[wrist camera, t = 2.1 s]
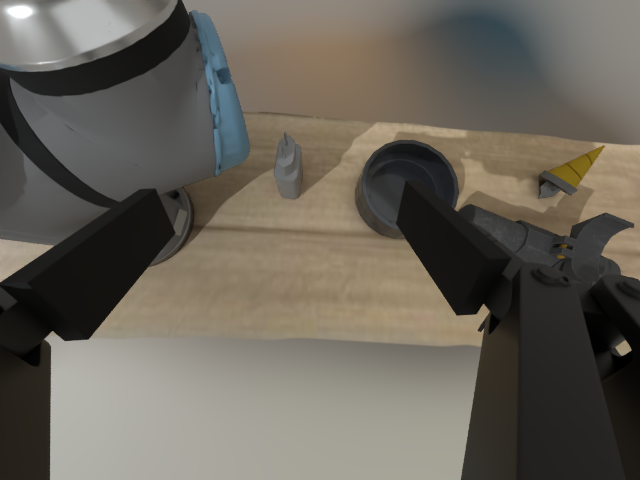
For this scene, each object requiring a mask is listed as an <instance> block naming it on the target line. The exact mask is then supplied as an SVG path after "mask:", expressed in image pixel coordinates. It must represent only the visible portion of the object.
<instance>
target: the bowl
mask: <svg viewBox="0 0 640 480" xmlns="http://www.w3.org/2000/svg"><path fill="white" fill-rule="evenodd" d="M405 180H420V181H421V182H422V183H423V184H425V185H426V186H427V187H428V188H429V189H431V190H432V191H433V192H434V193H435V194H436V195H438V196H439V197H440V198H441V199H442V200H444V201H445V202H446V203H447V204H448V205H450V206H451V207H452V208H453V209H455V207H456V204H457V199H458V194H459V189H458V181H457V176H456V174H455V172H454V170H453V168H452V166H451V164H450V163H449V161H448V160H447V159H446V158H445V157H444V156H443V155H442V153H440V152H439V151H437V150H436V149H434V148H433V147H431V146H430V145H428V144H424V143H421V142H418V141H415V140H398V141H395V142H391V143H388V144H385V145H384V146H382V147H381V148H379V149H378V150H376V151H375V152H374V153H373V154H372V156H371V157H370V158H369V160H368V161H367V162H366V164H365V166H364V168H363V170H362V172H361V174H360V176H359V179H358V182H357V185H356V189H355V200H356V205H357V208H358V211H359V213H360V216H361V217H362V218H363V220H364V221H365V222H366V223H367V225H368V226H369V227H370V228H372V229H373V230H375V231H376V232H378V233H379V234H381V235H384V236H387V237H390V238H393V239H406V238H405V237H404V235H403V234H402V232H401V231H400V229H399V228H398V226H397V225H396V221H397V217H398V212H399V207H400V203H401V198H402V194H403V189H404V185H405Z"/></svg>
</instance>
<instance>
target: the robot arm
mask: <svg viewBox="0 0 640 480" xmlns="http://www.w3.org/2000/svg"><path fill="white" fill-rule="evenodd" d="M249 152H250V143H249V138H248V133H247V129H246V125H245V121H244V117H243V113H242V110H241V106H240V103H239V99H238V96H237V93H236V89H235V86H234V84H233V81H232V80H231V74H230V71H229V68H228V65H227V60H226V57H225V54H224V51H223V48H222V45H221V42H220V39H219V36H218V34H217V31H216V29H215V26H214V24H213V22H212V20H211V18H210V17H209V16H208V15H207V14H205V13H198V12H197V11H195V10H193V11H191V12H189V15H188V13H187V11H186V9H185V6H184V4H183V2H182V0H0V239H5V240H13V241H21V242H29V243H37V244H46V245H54V247H53V248H51V249H50V250H48V251H47V252H45V253H44V254H42V255H41V256H39V257H38V258H36V259H35V260H33V261H32V262H30V263H29V264H27V265H26V266H24V267H23V268H21V269H20V270H18V271H17V272H15V273H14V274H12V275H11V276H9V277H8V278H6V279H5V280H3V281H2V282H0V480H50V396H51V395H50V394H51V346H50V344H49V343H48V342H47V341H46V340H44V339H45V338H46V337H47V336H48V335H49V334H50V333H51V332H52V331H53V332H55V333H56V334H57V335H58V336H59V337H61V338H62V339H63V340H64V341H72V340H87V339H89V338H90V337H91V336H92V334H93V333H94V332H95V331H96V330H97V328H98V327H99V326H100V325H101V323H102V322H103V321H104V320H105V319H106V317H107V316H108V315H109V314H110V313H111V311H112V310H113V309H114V308H115V306H116V305H117V304H118V303H119V302H120V300H121V299H122V298H123V297H124V296H125V294H126V293H127V292H128V291H129V289H130V288H131V287H132V286H133V285H134V283H135V282H136V281H137V280H138V279H139V277H140V276H141V275H142V274H143V272H144V271H145V270H146V269H147V268H148V267H150V266H154V265H157V264H159V263H161V262H163V261H165V260H167V259H169V258H170V257H172V256H173V255H174V254H175V253H176V252H177V251H178V250H179V249H180V248H181V247H182V246H183V245H184V243H185V242H186V240H187V238H188V236H189V234H190V232H191V229H192V225H193V219H194V212H193V206H192V202H191V199H190V197H189V195H188V194H187V192H186V191H185V189H184V188H183V186H186V185H189V184H192V183H195V182H198V181H201V180H204V179H207V178H209V177H212V176H215V177H216V176H218V175H220V174H221V172H223V171H225V170H228V169H230V168H233V167H235V166H237V165H240V164H242V163H243V162H244V161H245V160H246V158H247V157H248V155H249ZM396 225H397V226H398V228H399V229H400V231H401V232H402V234H403V235H404V237H405V238H406V240H407V241H408V243H409V244H410V246H411V247H412V249H413V250H414V252H415V253H416V255H417V256H418V258H419V259H420V261H421V262H422V264H423V265H424V267H425V268H426V270H427V271H428V273H429V274H430V276H431V277H432V279H433V280H434V282H435V283H436V285H437V286H438V288H439V289H440V291H441V292H442V294H443V296H444V297H445V299H446V300H447V302H448V303H449V305H450V306H451V308H452V309H453V311H454V312H455V314H456V315H473V314H477V313H478V311H479V309H480V308H481V306H482V305H483V303H484V304H485V306H486V307H487V308H488V309H489V311H490V312H489V314H488V315H487V317H486V318H485V320H484V321H483V323H482V324H481V326H480V327H479V329H478V331H480V332H481V331H482V330H483V328H484V334H483V341H482V347H481V354H480V361H479V366H478V373H477V380H476V386H475V392H474V399H473V405H472V412H471V419H470V424H469V431H468V437H467V444H466V451H465V457H464V463H463V470H462V476H461V480H640V281H639V280H638V279H635V278H632V277H626V276H623V275H617V274H606V275H603V276H602V277H601V278H600V279H599V280H598V281H597V282H596V283H595V284H594V285H591V284H585V283H578V282H574V281H573V280H572V279H571V278H570V277H569V276H567V275H566V274H565V273H563V272H561V271H559V270H557V269H556V268H553V267H550V266H548V265H545V264H540V263H535V262H527V263H526V262H525V261H524V260H522V259H521V258H520V257H519V256H518V255H516V254H515V253H514V252H513V251H511V250H510V249H509V248H508V247H506V246H505V245H504V244H503V243H501V242H499V240H498V239H496V238H495V237H494V236H492V235H491V234H490V233H489V232H488V231H486V230H485V229H484V228H483V227H481V226H479V225H477V224H475V223H473V222H469V221H468V220H466V219H465V218H464V217H463V216H462V215H460V214H459V213H458V212H457V211H456V210H454V209H453V208H452V207H451V206H450V205H448V204H447V203H446V202H445V201H444V200H442V199H441V198H440V197H439V196H438V195H436V194H435V193H434V192H433V191H432V190H431V189H429V188H428V187H427V186H426V185H425V184H423V183H422V182H421V181H420V180H405V185H404V189H403V194H402V198H401V203H400V207H399V212H398V217H397V221H396ZM624 340H626V341H627V342H628V344H629V345H630V347H631V349H632V351H630V352H629V353H627V354H626V355H623V356H621V355H620V354H619V353H618V351H617V350H616V348H615V347H616V346H617V345H619V344H620V343H622V342H623V341H624Z"/></svg>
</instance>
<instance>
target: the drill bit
mask: <svg viewBox="0 0 640 480" xmlns="http://www.w3.org/2000/svg"><path fill="white" fill-rule="evenodd" d="M604 147H605V146H602V147H599V148H597V149H595V150H593V151H591V152H589V153H588V154H585V155H582V156H580V157H578V158H576V159H574V160H572V161H570V162H567V163H568V164H567V163H565V164H563V165H561V166H559V167H557V168H555V169H552V170H550V171H548V172H547V171H544V172H543V173H542V174H540V175H539V176H540V177H541V178H542V179H544V180H545V181H547V182H545V183H544V184H543V185H542V186H541V193H540V195H539V197H538V198H545V197H551V196H554V195H555V194H556V193H558V192H559V191H560V190H561V191H563V192H565V193H567V194H569V195H572V194H573V193H575V192H576V191H577V189H576V187H577V186H578V184H579V183H580V181H581V180H582V178H583V177H584V176H585V174H586V173H587V171H588V170H589V168H590V167H591V165H592V164H593V163H594V161H595V160H596V158H597V157H598V156H599V154H600V153H601V151H602V149H603V148H604Z"/></svg>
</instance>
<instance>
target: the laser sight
mask: <svg viewBox="0 0 640 480" xmlns="http://www.w3.org/2000/svg"><path fill="white" fill-rule="evenodd" d="M458 213H459V214H460V215H462V216H463V217H464V218H465V219H466V220H468V221H469V222H473V223H475V224H477V225H479V226H481V227H483V228H484V229H485V230H486V231H488V232H489V233H490V234H491V235H492V236H494V237H495V238H496V239H498V240H499V242H501V243H503V244H504V245H505V246H506V247H508V248H509V249H510V250H511V251H513V252H514V253H515V254H516V255H518V256H519V257H520V258H521V259H522V260H524V261H525V262H526V263H527V262H535V263H540V264H545V265H548V266H550V267H553V268H556V269H557V270H559V271H561V272H563V273H565V274H566V275H567V276H569V277H570V278H571V279H572V280H573V281H574V282H578V283H585V284H591V285H594V284H595V283H596V282H597V281H598V280H599V279H600V278H601V277H602V276H603V275H606V274H617V275H621V271H620V268H619V266H618V264H616V263H615V262H614V261H613V260H610V259H608V258H605V257H603V256H602V255H601V253H602V251H603V249H604V247H605V245H606V244H607V242H608V241H609V240H610V238H611V237H612V236H613V235H615V234H617V233H618V232H620V231H622V230H624V229H627V228H629V227H631V228H634V224H633V223H631V222H628V221H626V220H623V219H621V218H618V217H616V216H613V215H611V214H608V213H603V214H601V215H598V216H596V217H593V218H591V219H588V220H586V221H583V222H581V223H578V224H576V225H573V226H572V229H571V234H570V237H568V236H559V235H556V234H553V233H552V232H549V231H547V230H544V229H542V228H539V227H537V226H534V225H532V224H529V223H527V222H524V221H522V220H519V221H516V222H514V221H511V220H509V219H506V218H504V217H501V216H499V215H496V214H494V213H492V212H489V211H486V210H484V209H482V208H479V207H476V206H474V205H472V204H469V205H466V206H465V207H463V208H462V209H461V210H460V211H459V212H458Z"/></svg>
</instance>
